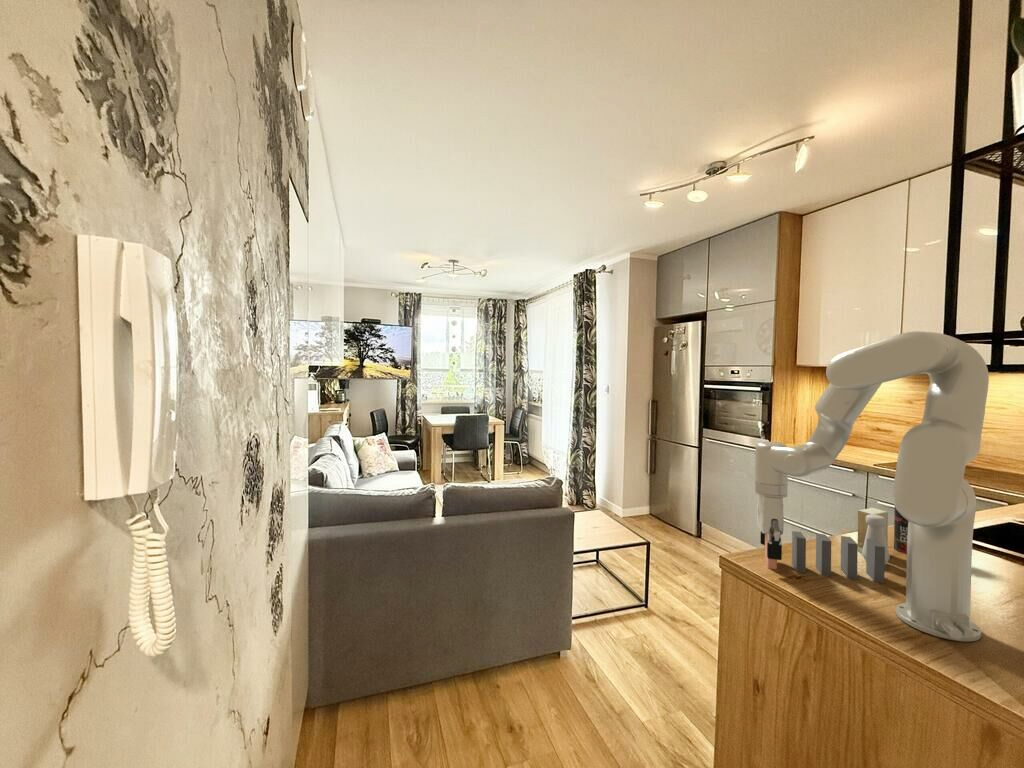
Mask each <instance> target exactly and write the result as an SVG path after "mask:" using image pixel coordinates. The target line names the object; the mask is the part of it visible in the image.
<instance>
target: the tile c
mask: <svg viewBox="0 0 1024 768" xmlns="http://www.w3.org/2000/svg"><path fill="white" fill-rule="evenodd" d="M841 570H842V571H843V572H842V571H841ZM840 571H841V572H842V574H843V573H844V574H845V575H846V576H845V575H844V574H843V575H844V576H845V578H846V579H847V578H853V579H852V580H855V579H857V580H858V542H856V541H855V540H854V539H853V538H852V537H851V536H843V535H840Z"/></svg>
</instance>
